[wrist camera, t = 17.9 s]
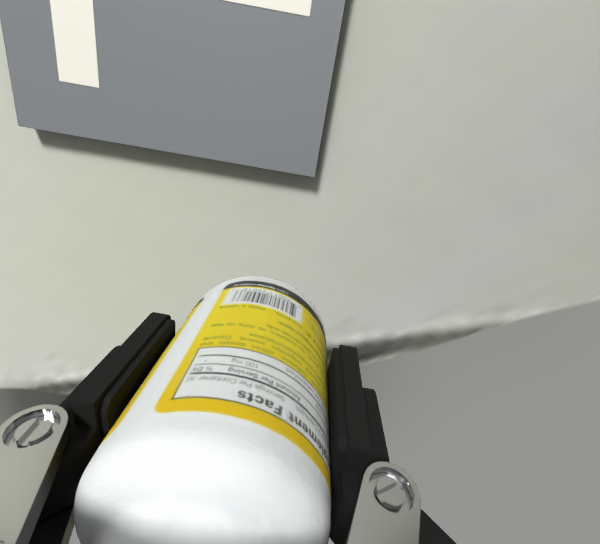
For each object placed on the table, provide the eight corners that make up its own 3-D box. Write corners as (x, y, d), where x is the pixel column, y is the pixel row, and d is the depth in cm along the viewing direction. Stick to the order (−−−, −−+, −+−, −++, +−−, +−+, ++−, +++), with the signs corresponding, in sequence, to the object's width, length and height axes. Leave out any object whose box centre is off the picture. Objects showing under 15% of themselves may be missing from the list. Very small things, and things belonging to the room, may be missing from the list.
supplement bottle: (239, 398, 15) (109, 816, 6) (168, 304, 13) (-179, 701, 4) (349, 359, 13) (399, 818, 4) (287, 248, 12) (170, 650, 3)
